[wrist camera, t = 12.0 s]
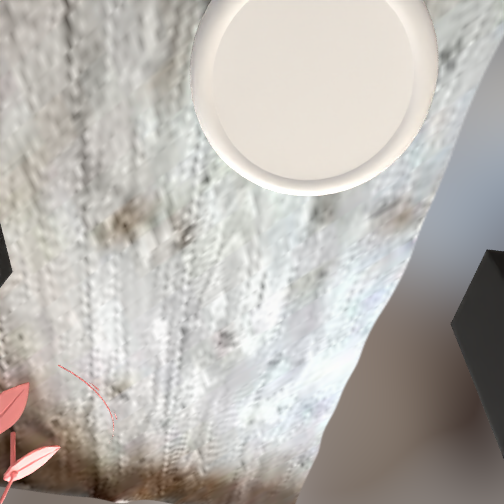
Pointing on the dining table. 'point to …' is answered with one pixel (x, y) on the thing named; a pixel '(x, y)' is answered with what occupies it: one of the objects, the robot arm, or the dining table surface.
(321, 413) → the dining table surface
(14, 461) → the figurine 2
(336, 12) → the white thick disc
